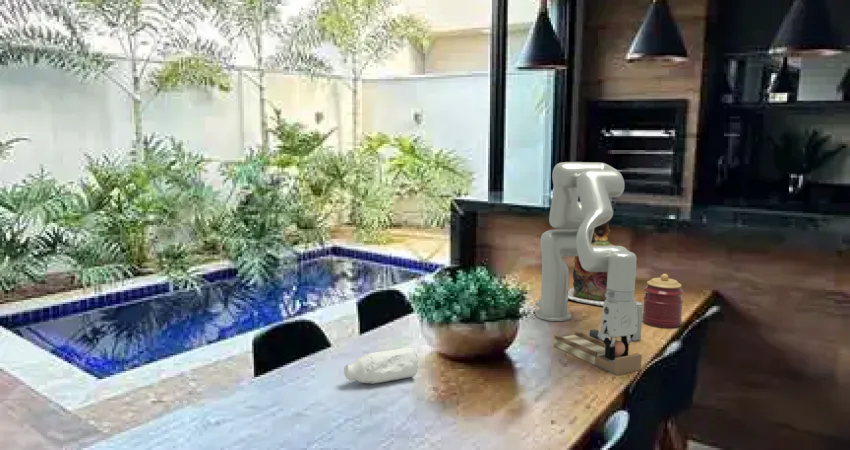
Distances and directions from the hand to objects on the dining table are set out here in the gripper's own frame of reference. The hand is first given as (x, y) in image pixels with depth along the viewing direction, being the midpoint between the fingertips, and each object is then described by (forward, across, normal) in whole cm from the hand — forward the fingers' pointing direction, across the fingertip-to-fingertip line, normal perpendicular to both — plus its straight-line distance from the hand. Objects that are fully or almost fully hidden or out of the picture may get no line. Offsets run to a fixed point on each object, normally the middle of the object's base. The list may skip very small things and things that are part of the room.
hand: (616, 356), depth 184 cm
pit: (+3, 0, 0) cm, 3 cm away
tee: (+3, +11, +21) cm, 24 cm away
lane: (+3, 0, +13) cm, 13 cm away
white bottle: (+3, -64, +20) cm, 67 cm away
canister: (+3, +46, +24) cm, 52 cm away
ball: (0, 0, 0) cm, 0 cm away
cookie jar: (+3, +48, +60) cm, 77 cm away
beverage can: (+3, +23, +16) cm, 28 cm away
